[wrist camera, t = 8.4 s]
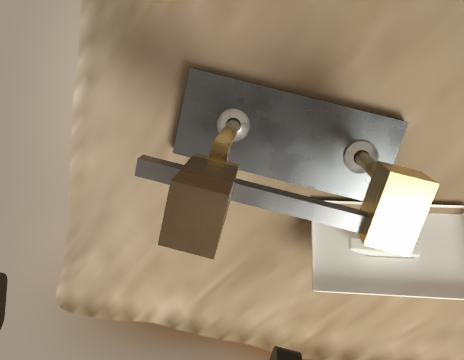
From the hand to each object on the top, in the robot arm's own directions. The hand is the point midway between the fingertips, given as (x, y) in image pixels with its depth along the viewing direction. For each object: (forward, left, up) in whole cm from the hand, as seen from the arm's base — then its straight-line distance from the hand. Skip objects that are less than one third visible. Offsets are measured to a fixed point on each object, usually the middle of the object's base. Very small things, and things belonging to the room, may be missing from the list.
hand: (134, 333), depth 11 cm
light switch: (-17, +5, -28) cm, 33 cm away
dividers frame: (-4, -2, -26) cm, 27 cm away
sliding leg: (0, -1, -26) cm, 26 cm away
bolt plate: (-5, -2, -28) cm, 29 cm away
